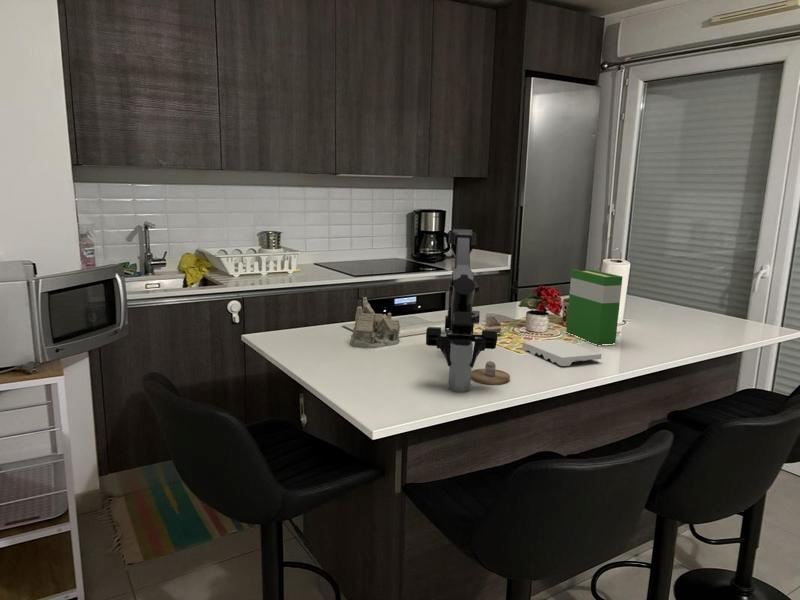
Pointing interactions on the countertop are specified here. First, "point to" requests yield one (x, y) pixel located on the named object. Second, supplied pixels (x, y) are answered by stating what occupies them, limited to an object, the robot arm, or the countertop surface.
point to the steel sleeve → (460, 365)
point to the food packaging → (560, 351)
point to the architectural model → (493, 323)
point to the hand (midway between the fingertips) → (460, 366)
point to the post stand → (490, 375)
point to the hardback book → (594, 306)
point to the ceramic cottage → (373, 329)
